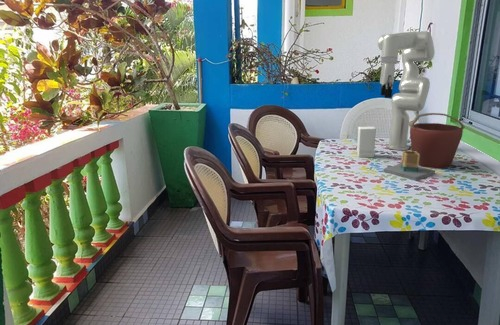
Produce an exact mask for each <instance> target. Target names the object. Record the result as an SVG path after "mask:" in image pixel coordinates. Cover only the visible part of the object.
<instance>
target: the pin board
mask: <svg viewBox="0 0 500 325" xmlns="http://www.w3.org/2000/svg"><path fill="white" fill-rule="evenodd" d="M382 172H383V173H386V174H390V175H394V176H397V177H400V178H401V177H402V178H406V179H409V180H412V181H418V180H421V179H423V178H426V177H430V176H432V175H435V174H436V169H435V170H434V169H432V168H428V167H421V166H418V172H410V171H403V170H402V169H401V163H399V164H398V163H397V164H396V165H392V166H389V167H385V168H383V169H382Z"/></svg>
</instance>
